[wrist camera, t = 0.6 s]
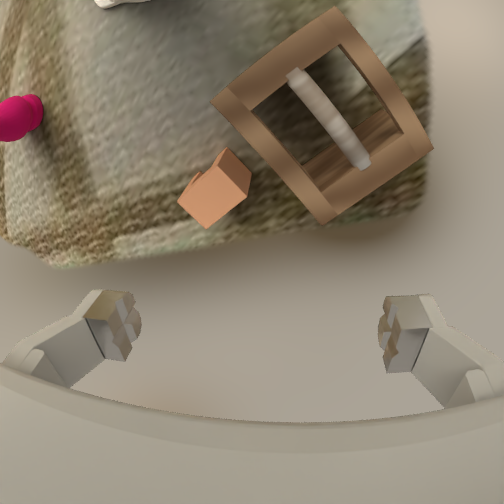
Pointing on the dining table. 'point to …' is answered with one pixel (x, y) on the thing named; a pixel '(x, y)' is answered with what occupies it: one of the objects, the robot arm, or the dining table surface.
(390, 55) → the dining table surface
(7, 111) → the pepper mill
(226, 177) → the tall peach block
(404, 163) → the stand
